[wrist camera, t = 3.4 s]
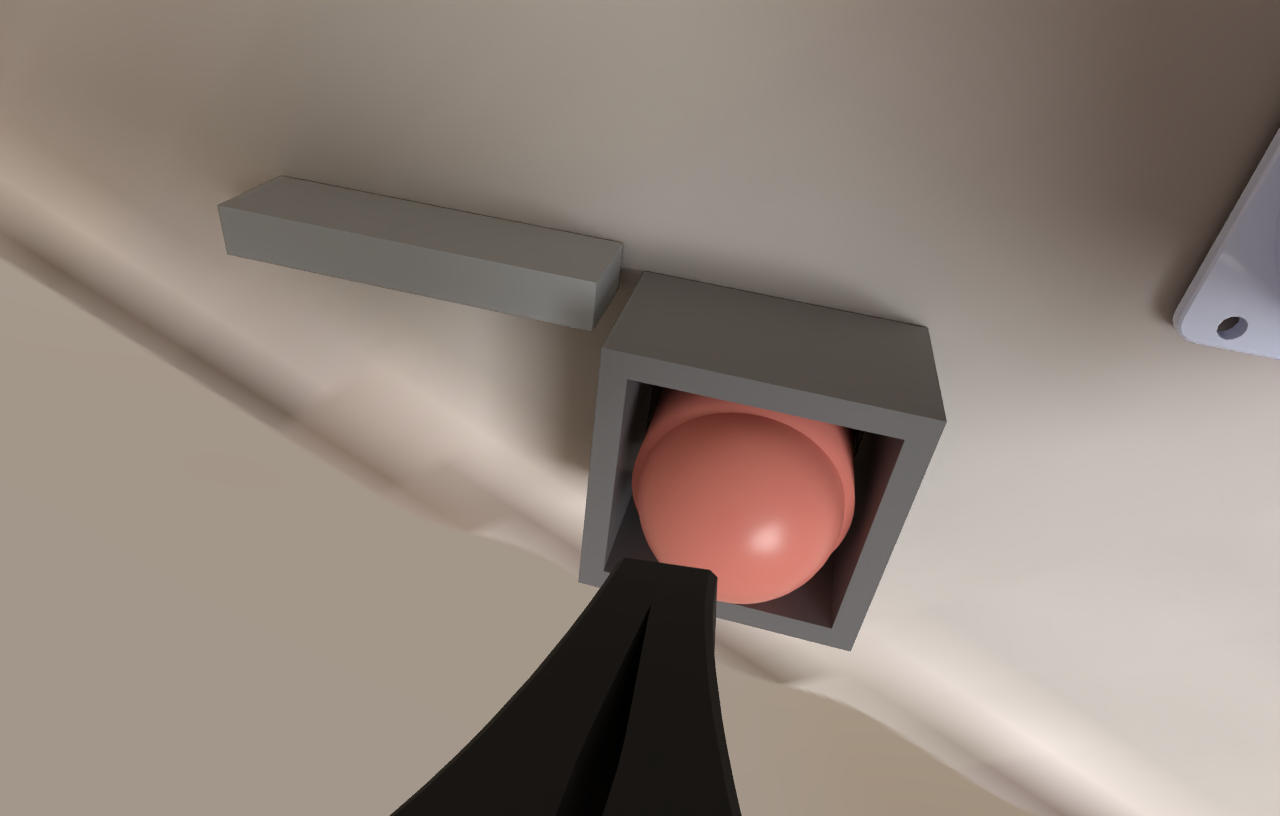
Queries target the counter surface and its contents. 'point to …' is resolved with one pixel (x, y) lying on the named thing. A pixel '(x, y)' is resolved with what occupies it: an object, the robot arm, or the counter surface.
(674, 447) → the dome
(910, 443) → the dome housing
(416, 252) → the bar
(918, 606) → the counter surface
